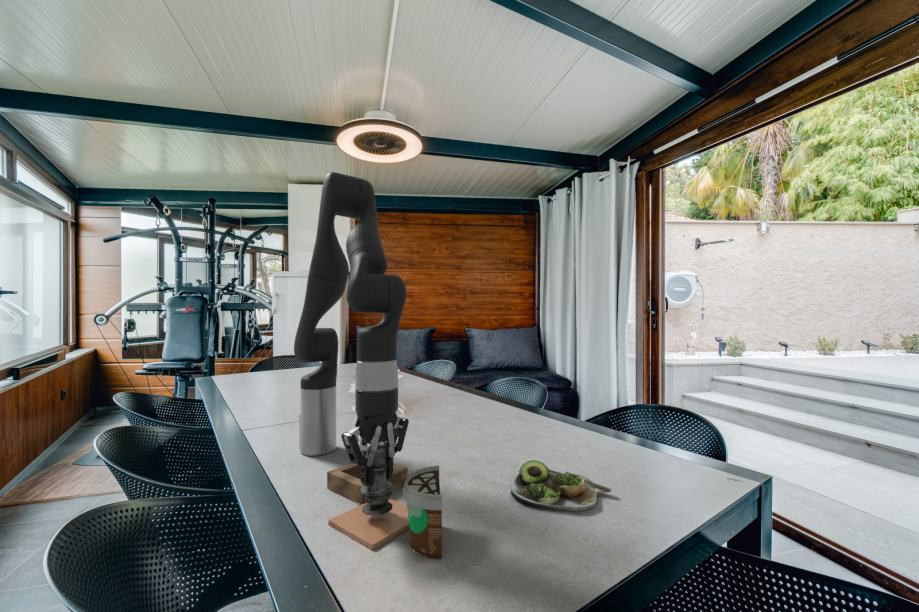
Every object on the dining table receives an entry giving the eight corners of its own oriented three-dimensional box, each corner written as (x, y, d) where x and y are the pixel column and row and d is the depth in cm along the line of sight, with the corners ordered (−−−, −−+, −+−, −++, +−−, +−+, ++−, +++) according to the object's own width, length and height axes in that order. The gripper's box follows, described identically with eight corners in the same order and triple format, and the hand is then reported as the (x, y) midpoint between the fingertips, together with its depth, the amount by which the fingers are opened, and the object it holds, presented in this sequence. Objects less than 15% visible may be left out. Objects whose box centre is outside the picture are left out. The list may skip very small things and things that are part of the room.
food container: (404, 522, 70) (404, 465, 70) (439, 520, 70) (439, 464, 70) (400, 567, 57) (399, 498, 57) (442, 564, 58) (441, 496, 58)
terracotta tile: (328, 524, 69) (328, 520, 69) (381, 499, 78) (381, 495, 78) (372, 550, 61) (372, 545, 61) (425, 518, 71) (425, 514, 71)
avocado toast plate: (609, 482, 86) (609, 461, 86) (614, 523, 69) (613, 497, 69) (521, 471, 92) (521, 452, 93) (506, 507, 75) (505, 482, 76)
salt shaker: (386, 518, 67) (386, 446, 67) (354, 514, 68) (354, 444, 68) (398, 501, 72) (398, 436, 73) (369, 498, 73) (369, 434, 74)
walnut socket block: (327, 488, 83) (327, 471, 83) (372, 470, 93) (372, 455, 93) (362, 505, 76) (362, 487, 76) (407, 484, 85) (407, 468, 85)
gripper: (393, 377, 78) (393, 464, 78) (330, 388, 67) (330, 490, 67) (419, 381, 74) (420, 474, 73) (357, 394, 63) (357, 503, 62)
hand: (377, 481), depth 70 cm, fingers closed on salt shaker, 3 cm apart
